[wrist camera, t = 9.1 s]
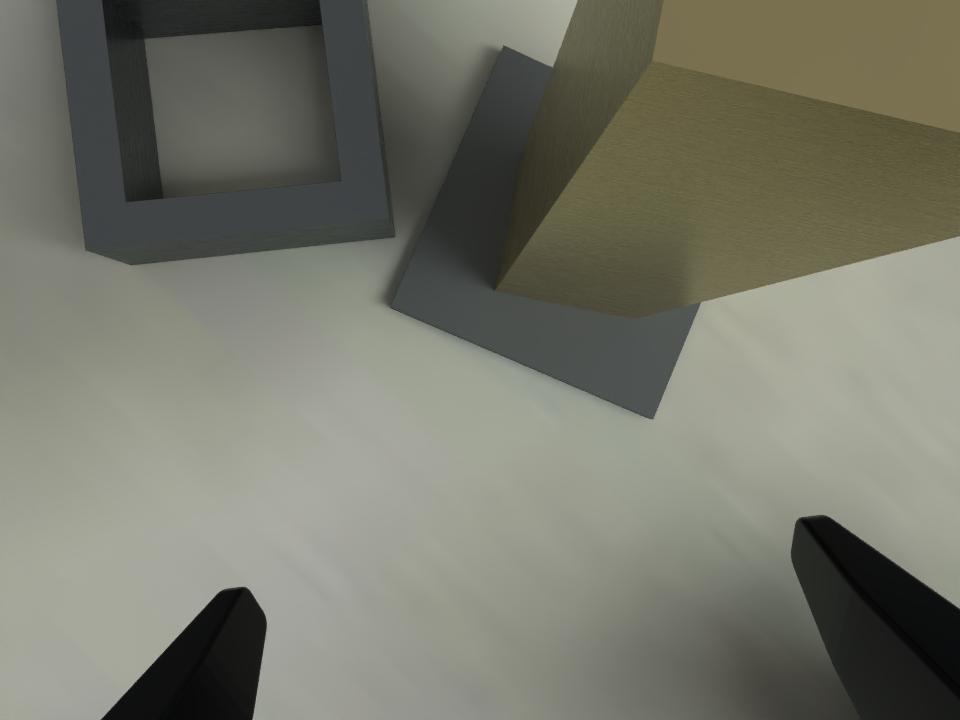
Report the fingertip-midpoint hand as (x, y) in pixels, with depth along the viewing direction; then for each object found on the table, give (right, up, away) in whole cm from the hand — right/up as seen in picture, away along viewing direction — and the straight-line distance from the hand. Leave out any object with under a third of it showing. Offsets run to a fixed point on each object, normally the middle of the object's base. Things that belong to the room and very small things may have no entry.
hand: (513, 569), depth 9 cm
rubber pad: (+3, +8, +11) cm, 14 cm away
